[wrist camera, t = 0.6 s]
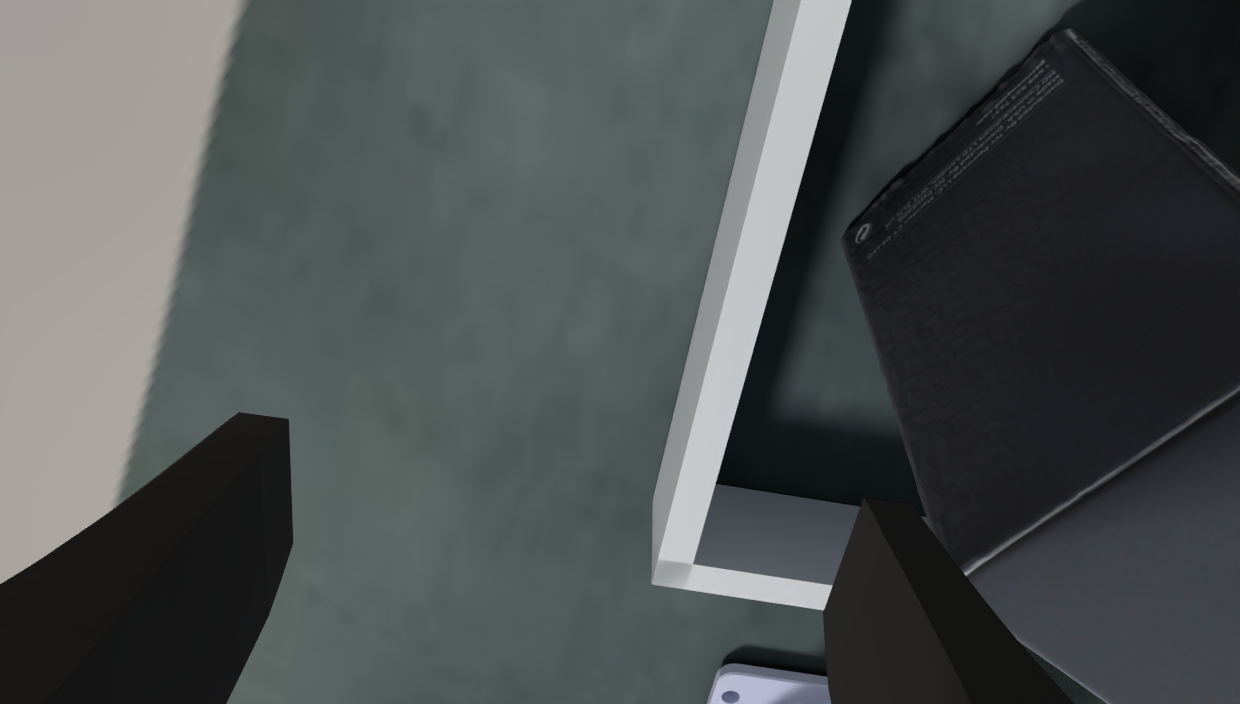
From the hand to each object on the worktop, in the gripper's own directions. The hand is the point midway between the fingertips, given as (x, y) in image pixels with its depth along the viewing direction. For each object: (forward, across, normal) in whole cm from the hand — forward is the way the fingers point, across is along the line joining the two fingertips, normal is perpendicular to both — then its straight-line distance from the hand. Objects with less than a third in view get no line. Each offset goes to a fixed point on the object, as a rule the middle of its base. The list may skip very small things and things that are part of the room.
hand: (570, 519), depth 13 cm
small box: (+11, -11, +1) cm, 15 cm away
